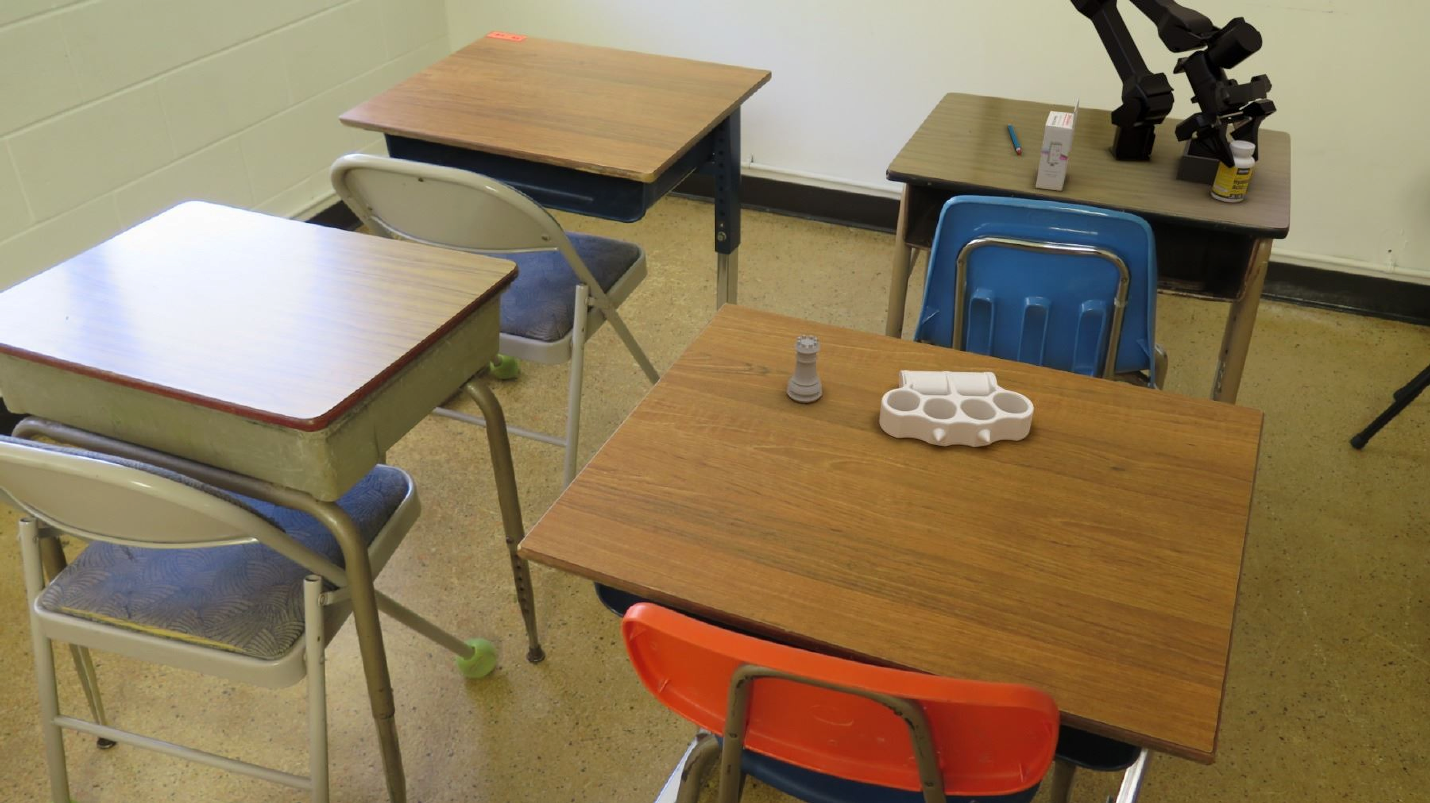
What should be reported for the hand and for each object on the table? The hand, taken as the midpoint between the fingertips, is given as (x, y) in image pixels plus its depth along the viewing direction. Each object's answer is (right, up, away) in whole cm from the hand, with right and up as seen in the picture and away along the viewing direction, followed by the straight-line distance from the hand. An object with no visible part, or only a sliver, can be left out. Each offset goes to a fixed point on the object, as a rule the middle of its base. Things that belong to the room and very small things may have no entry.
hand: (1244, 164), depth 182 cm
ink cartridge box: (-30, -1, +11) cm, 32 cm away
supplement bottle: (-1, -5, +5) cm, 7 cm away
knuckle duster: (-63, -43, -54) cm, 93 cm away
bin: (+1, +1, +14) cm, 14 cm away
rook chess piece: (-80, -40, -49) cm, 102 cm away
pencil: (-32, +11, +29) cm, 45 cm away
